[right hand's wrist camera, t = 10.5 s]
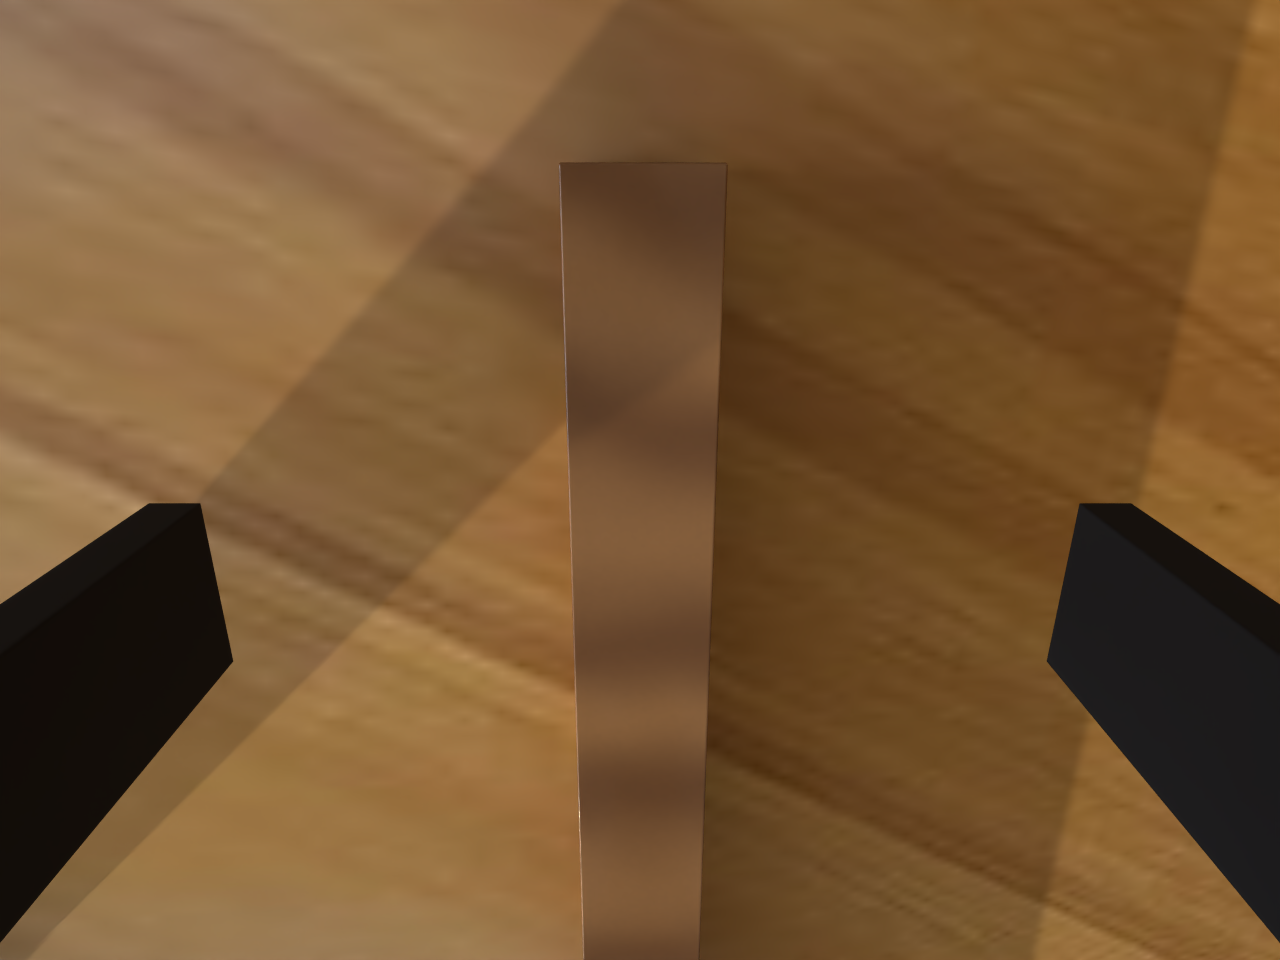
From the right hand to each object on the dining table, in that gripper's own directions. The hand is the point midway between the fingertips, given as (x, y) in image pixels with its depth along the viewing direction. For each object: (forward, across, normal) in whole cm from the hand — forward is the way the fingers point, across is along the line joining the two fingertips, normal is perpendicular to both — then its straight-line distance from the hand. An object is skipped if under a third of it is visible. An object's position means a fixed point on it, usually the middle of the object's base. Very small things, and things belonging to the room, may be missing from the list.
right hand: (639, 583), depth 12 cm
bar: (+22, 0, -27) cm, 35 cm away
